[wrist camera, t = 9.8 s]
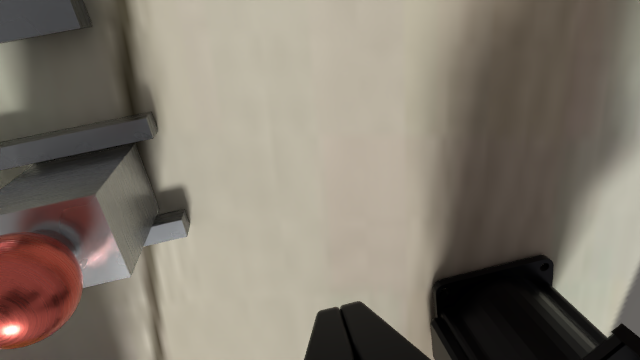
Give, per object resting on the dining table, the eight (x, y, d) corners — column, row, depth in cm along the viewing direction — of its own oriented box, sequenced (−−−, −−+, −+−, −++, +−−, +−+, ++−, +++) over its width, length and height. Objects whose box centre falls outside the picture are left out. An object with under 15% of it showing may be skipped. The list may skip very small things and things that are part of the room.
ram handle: (135, 143, 17) (47, 255, 10) (159, 208, 18) (98, 353, 11) (33, 164, 17) (-142, 298, 9) (64, 229, 18) (-68, 394, 10)
